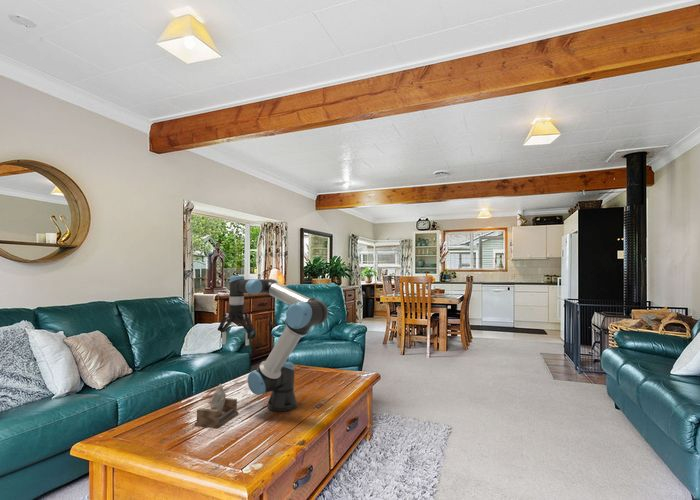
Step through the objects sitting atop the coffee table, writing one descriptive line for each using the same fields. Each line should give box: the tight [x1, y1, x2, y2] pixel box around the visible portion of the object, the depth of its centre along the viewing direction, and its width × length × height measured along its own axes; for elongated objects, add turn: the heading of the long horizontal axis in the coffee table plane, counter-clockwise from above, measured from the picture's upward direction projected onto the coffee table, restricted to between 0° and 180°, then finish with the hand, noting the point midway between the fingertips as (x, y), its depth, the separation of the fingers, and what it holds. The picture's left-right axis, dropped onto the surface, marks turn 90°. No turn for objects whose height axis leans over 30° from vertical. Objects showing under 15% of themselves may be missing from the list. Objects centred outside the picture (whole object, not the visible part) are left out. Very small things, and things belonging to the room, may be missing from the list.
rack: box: [194, 397, 239, 429], centre depth 181 cm, size 12×18×7 cm, turn 167°
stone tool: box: [209, 383, 227, 416], centre depth 181 cm, size 11×4×15 cm, turn 164°
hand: (235, 344), depth 202 cm, fingers open, 13 cm apart
